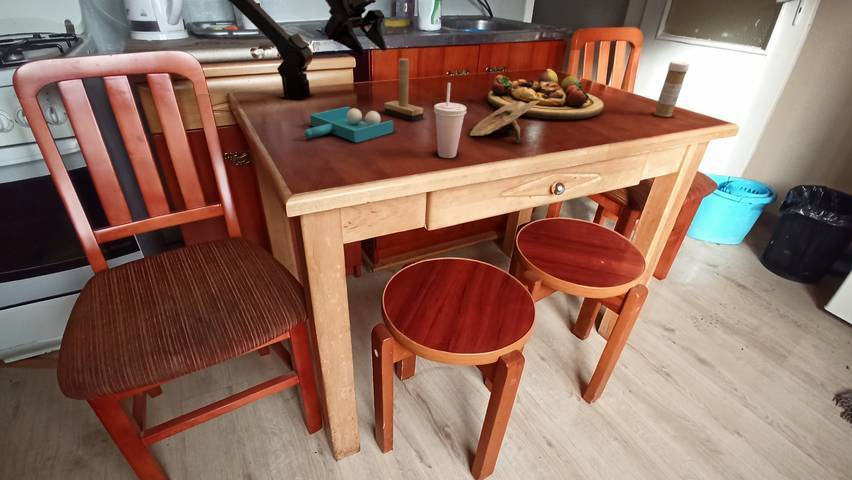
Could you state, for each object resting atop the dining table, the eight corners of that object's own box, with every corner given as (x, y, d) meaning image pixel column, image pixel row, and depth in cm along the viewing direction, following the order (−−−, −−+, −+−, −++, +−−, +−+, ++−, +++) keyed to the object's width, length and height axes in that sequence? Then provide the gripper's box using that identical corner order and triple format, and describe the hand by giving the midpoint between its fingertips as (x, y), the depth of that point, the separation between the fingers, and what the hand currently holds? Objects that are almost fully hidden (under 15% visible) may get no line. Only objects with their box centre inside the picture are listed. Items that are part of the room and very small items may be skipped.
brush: (412, 121, 111) (413, 63, 104) (384, 113, 117) (383, 57, 109) (422, 118, 114) (425, 61, 106) (395, 110, 119) (395, 55, 112)
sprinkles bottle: (662, 112, 125) (679, 60, 118) (675, 117, 122) (694, 63, 114) (649, 113, 124) (666, 60, 116) (662, 118, 120) (680, 64, 113)
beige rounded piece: (344, 125, 107) (344, 109, 105) (350, 121, 110) (349, 106, 108) (359, 126, 106) (358, 110, 104) (364, 123, 109) (363, 107, 107)
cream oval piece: (362, 114, 103) (372, 104, 105) (361, 123, 107) (371, 114, 108) (374, 123, 103) (384, 114, 104) (373, 132, 107) (383, 123, 108)
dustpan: (349, 117, 113) (348, 106, 111) (393, 132, 104) (393, 120, 103) (285, 132, 102) (283, 120, 100) (328, 150, 93) (327, 137, 91)
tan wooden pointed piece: (463, 157, 110) (453, 126, 107) (511, 135, 113) (502, 105, 111) (504, 154, 93) (493, 117, 91) (558, 128, 97) (548, 93, 95)
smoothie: (429, 149, 95) (433, 79, 87) (459, 149, 96) (465, 79, 88) (433, 160, 90) (437, 86, 82) (464, 160, 90) (471, 87, 82)
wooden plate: (473, 112, 120) (476, 79, 116) (500, 88, 145) (504, 60, 140) (598, 128, 111) (607, 93, 106) (604, 100, 135) (612, 70, 131)
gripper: (329, -28, 100) (370, 32, 102) (377, -28, 114) (413, 25, 115) (306, 10, 108) (345, 65, 110) (354, 6, 121) (388, 55, 123)
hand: (374, 52), depth 114 cm, fingers open, 9 cm apart
